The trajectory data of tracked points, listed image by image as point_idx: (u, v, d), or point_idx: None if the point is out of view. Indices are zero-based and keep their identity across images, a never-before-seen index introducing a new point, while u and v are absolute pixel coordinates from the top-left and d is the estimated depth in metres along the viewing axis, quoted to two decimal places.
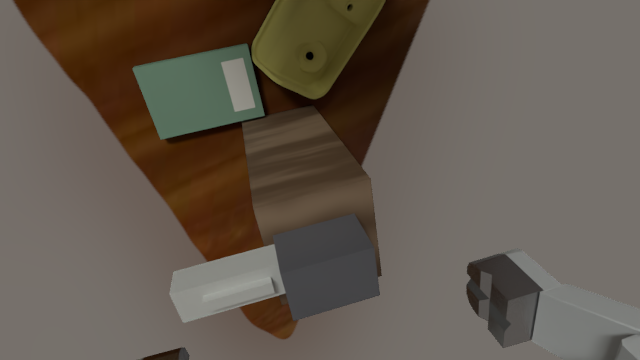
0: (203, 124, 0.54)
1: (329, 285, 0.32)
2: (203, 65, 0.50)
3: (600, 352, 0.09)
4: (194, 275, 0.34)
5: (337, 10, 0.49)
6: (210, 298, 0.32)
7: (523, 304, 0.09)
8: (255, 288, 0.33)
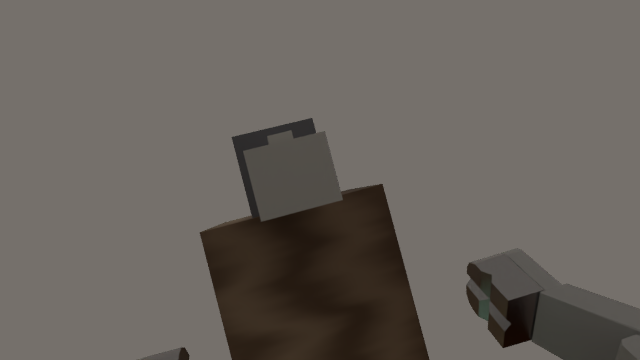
0: None
1: None
2: None
3: (600, 352, 0.09)
4: None
5: None
6: (268, 142, 0.19)
7: (523, 304, 0.09)
8: None
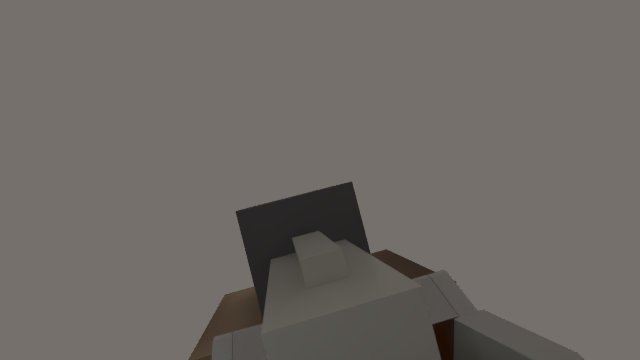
0: None
1: None
2: None
3: None
4: None
5: None
6: (300, 263, 0.11)
7: (438, 330, 0.09)
8: (297, 241, 0.15)
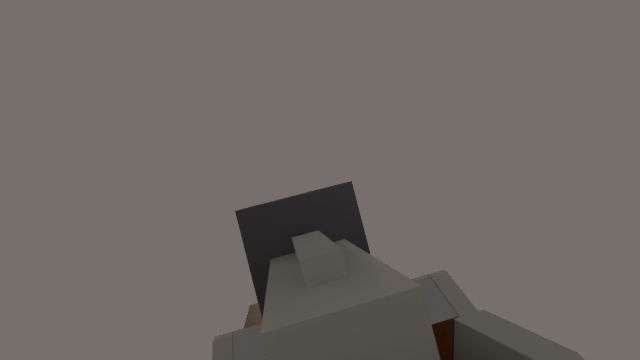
0: None
1: None
2: None
3: None
4: None
5: None
6: (299, 263, 0.11)
7: (438, 331, 0.09)
8: (296, 241, 0.15)
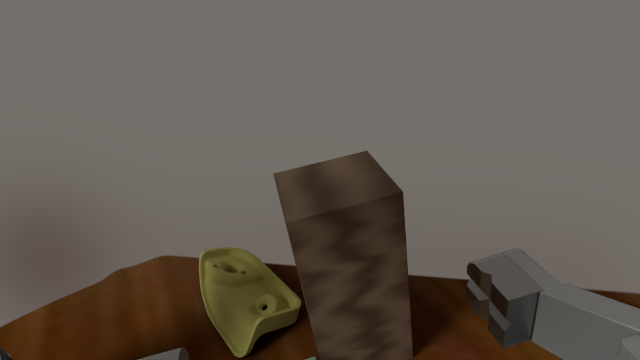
0: None
1: None
2: None
3: (600, 352, 0.09)
4: None
5: (240, 279, 0.63)
6: None
7: (523, 304, 0.09)
8: None
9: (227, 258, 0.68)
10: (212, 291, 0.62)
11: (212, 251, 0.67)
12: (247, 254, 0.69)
